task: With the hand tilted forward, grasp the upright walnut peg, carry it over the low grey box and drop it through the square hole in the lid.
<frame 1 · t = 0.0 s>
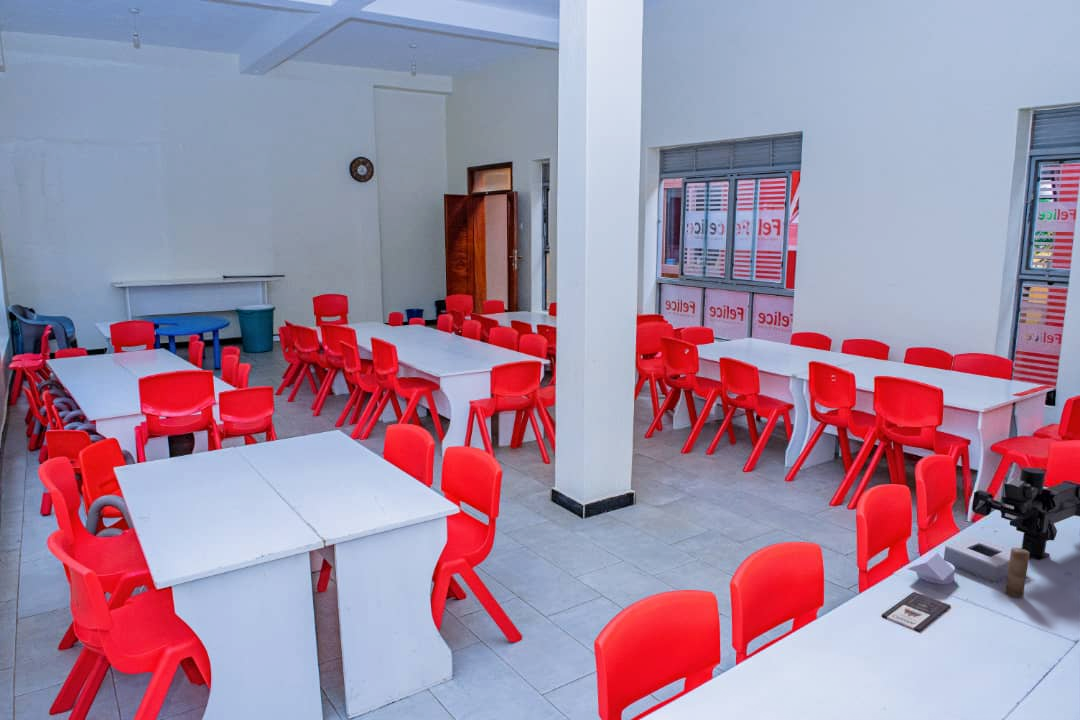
hand: (992, 517, 205), 17 cm above the table, tool horizontal, fingers open, 9 cm apart
peg: (1013, 594, 198), on the table
chocolate bar: (916, 614, 188), on the table
box: (982, 566, 213), on the table
wedge on round base: (931, 579, 206), on the table
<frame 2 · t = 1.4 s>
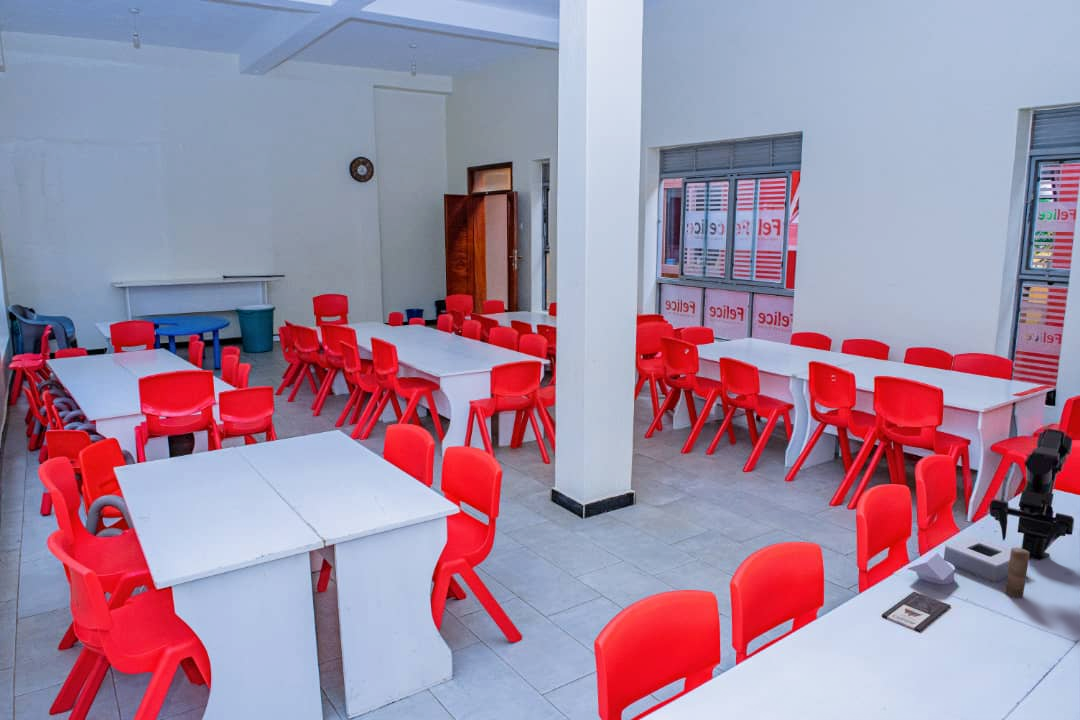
hand: (1023, 544, 200), 12 cm above the table, tool tilted 45°, fingers open, 9 cm apart
nothing on the table moved.
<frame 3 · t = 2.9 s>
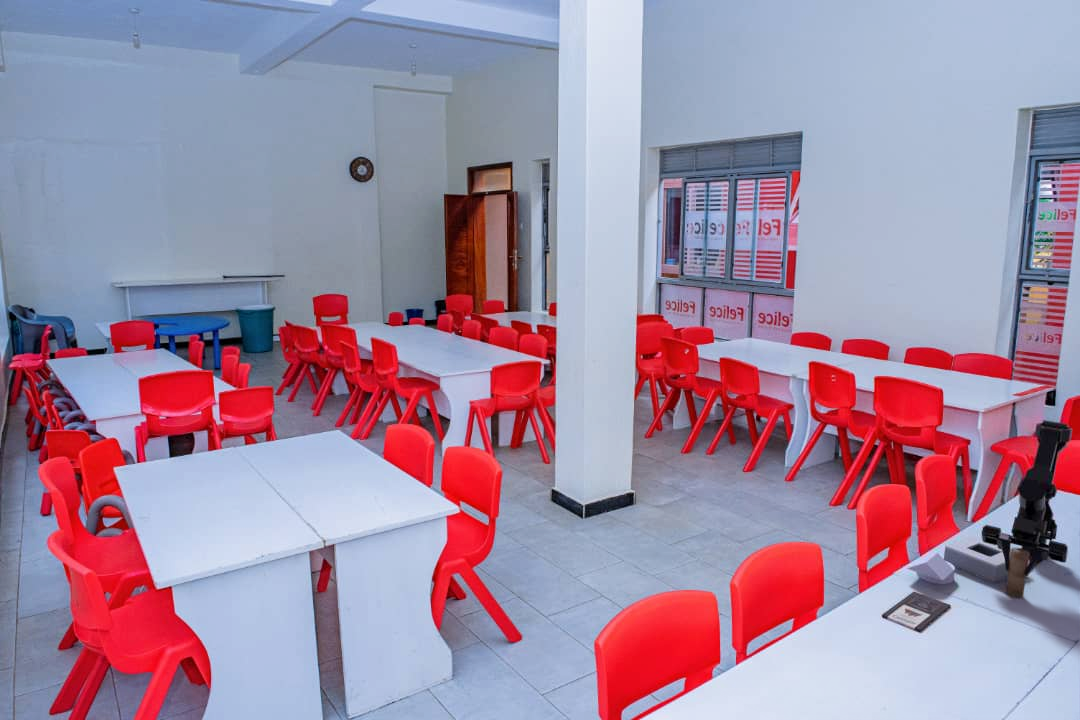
hand: (1016, 572, 195), 7 cm above the table, tool tilted 45°, fingers closed on peg, 4 cm apart
peg: (1013, 594, 198), on the table, touching gripper
everything else where it was.
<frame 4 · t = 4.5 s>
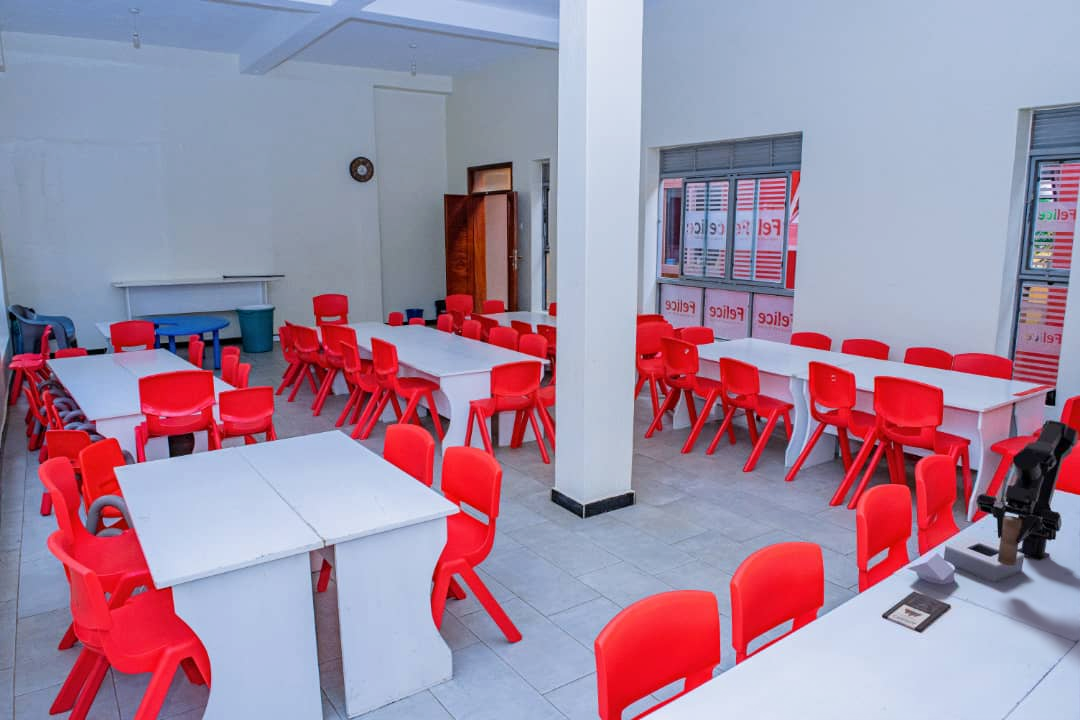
hand: (1008, 540, 198), 14 cm above the table, tool tilted 45°, fingers closed on peg, 4 cm apart
peg: (1006, 562, 200), point 7 cm above the table, touching gripper
everything else where it was.
when the fingers open (12 cm above the table, at t = 6.0 s): peg drops 5 cm, resting on box.
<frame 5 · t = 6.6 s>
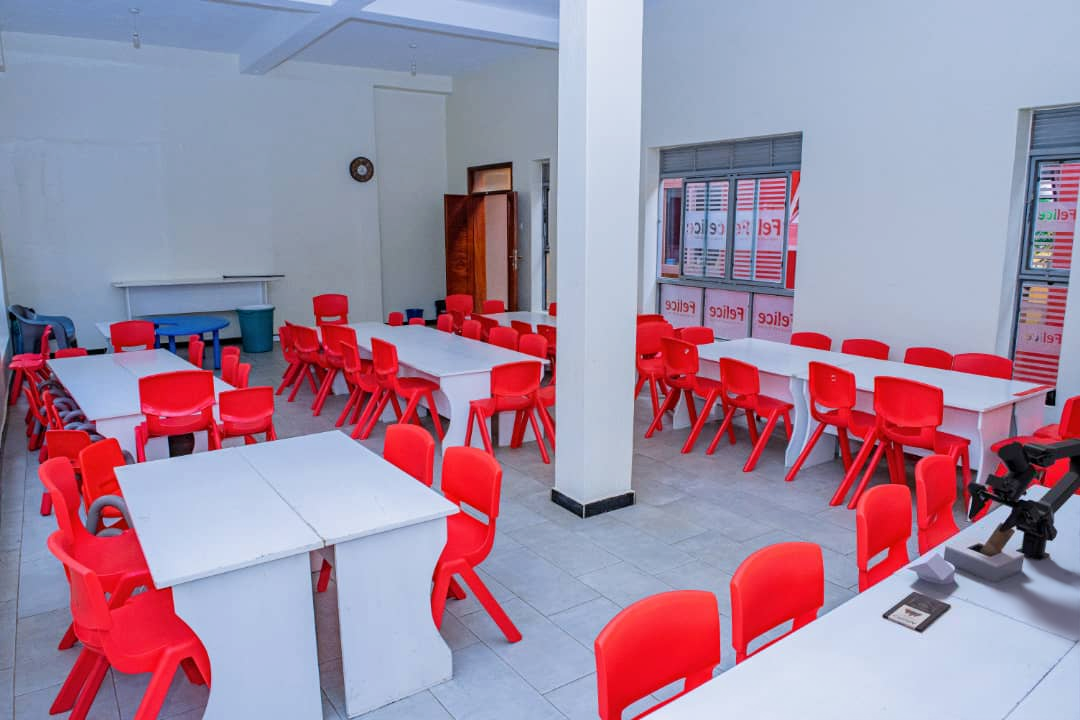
hand: (984, 524, 210), 13 cm above the table, tool tilted 45°, fingers open, 9 cm apart
peg: (982, 562, 213), point 1 cm above the table, tilted 24°, touching box
everything else where it was.
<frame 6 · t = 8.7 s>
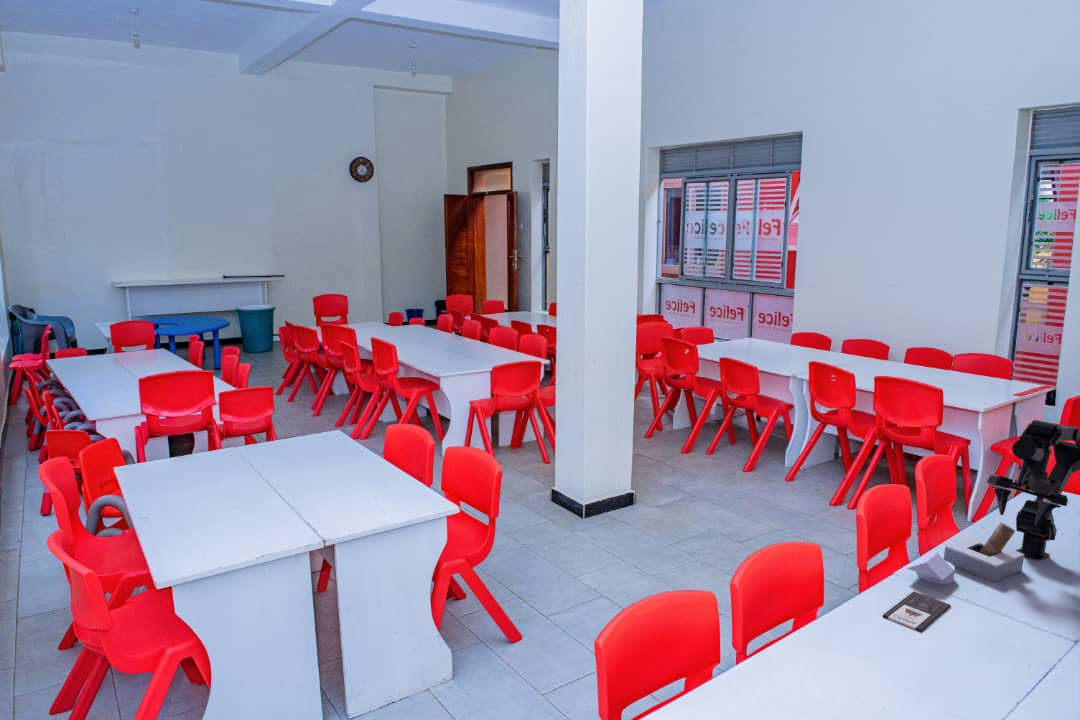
hand: (1018, 520, 211), 14 cm above the table, tool tilted 20°, fingers open, 9 cm apart
nothing on the table moved.
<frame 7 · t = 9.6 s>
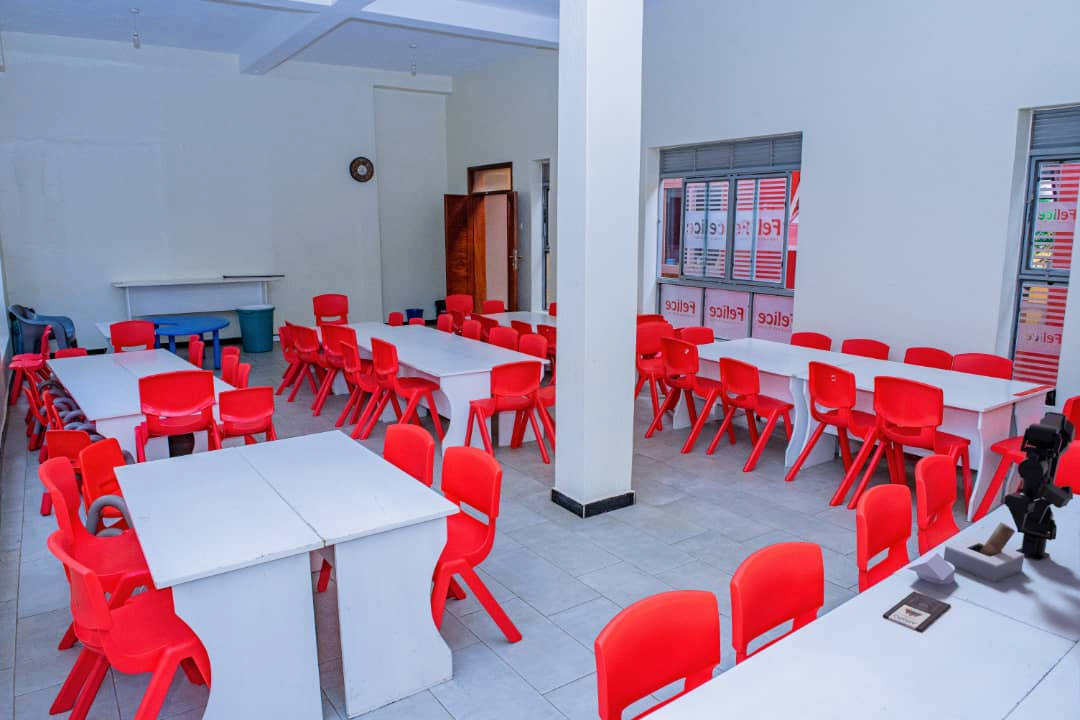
hand: (1028, 526, 209), 13 cm above the table, tool pointing down, fingers open, 9 cm apart
nothing on the table moved.
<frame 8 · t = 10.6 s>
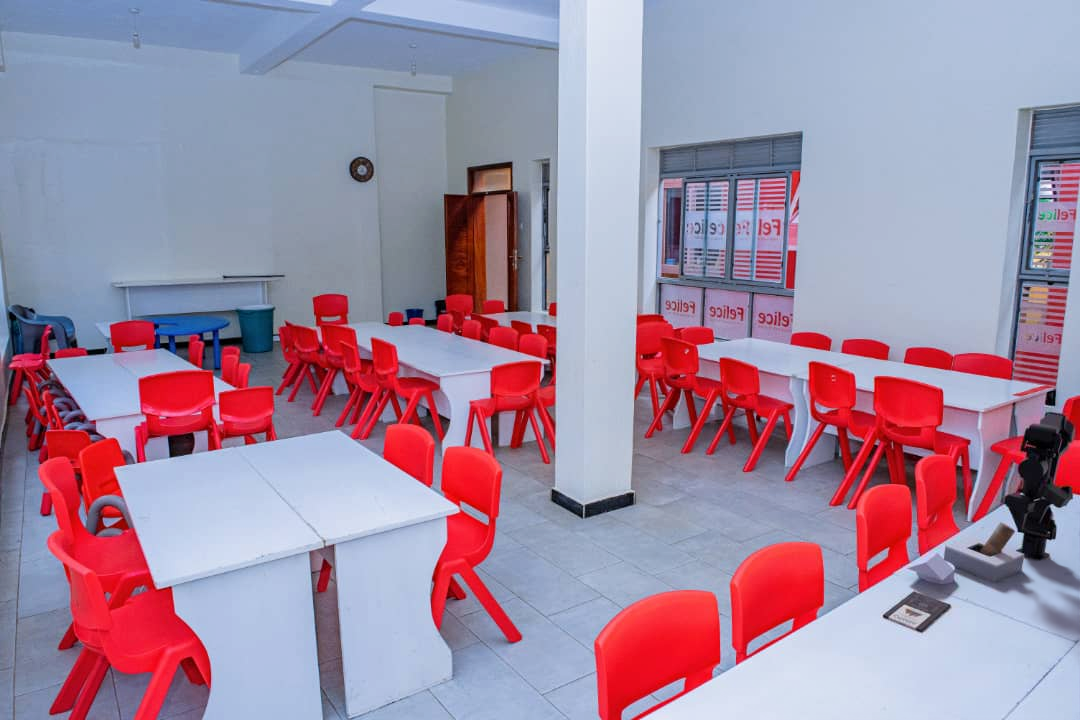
hand: (1028, 526, 209), 13 cm above the table, tool pointing down, fingers open, 9 cm apart
nothing on the table moved.
at the end: peg inside the target area on the box (0.0 cm from its centre), point 1.3 cm above the box's base; the gripper is holding nothing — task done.
